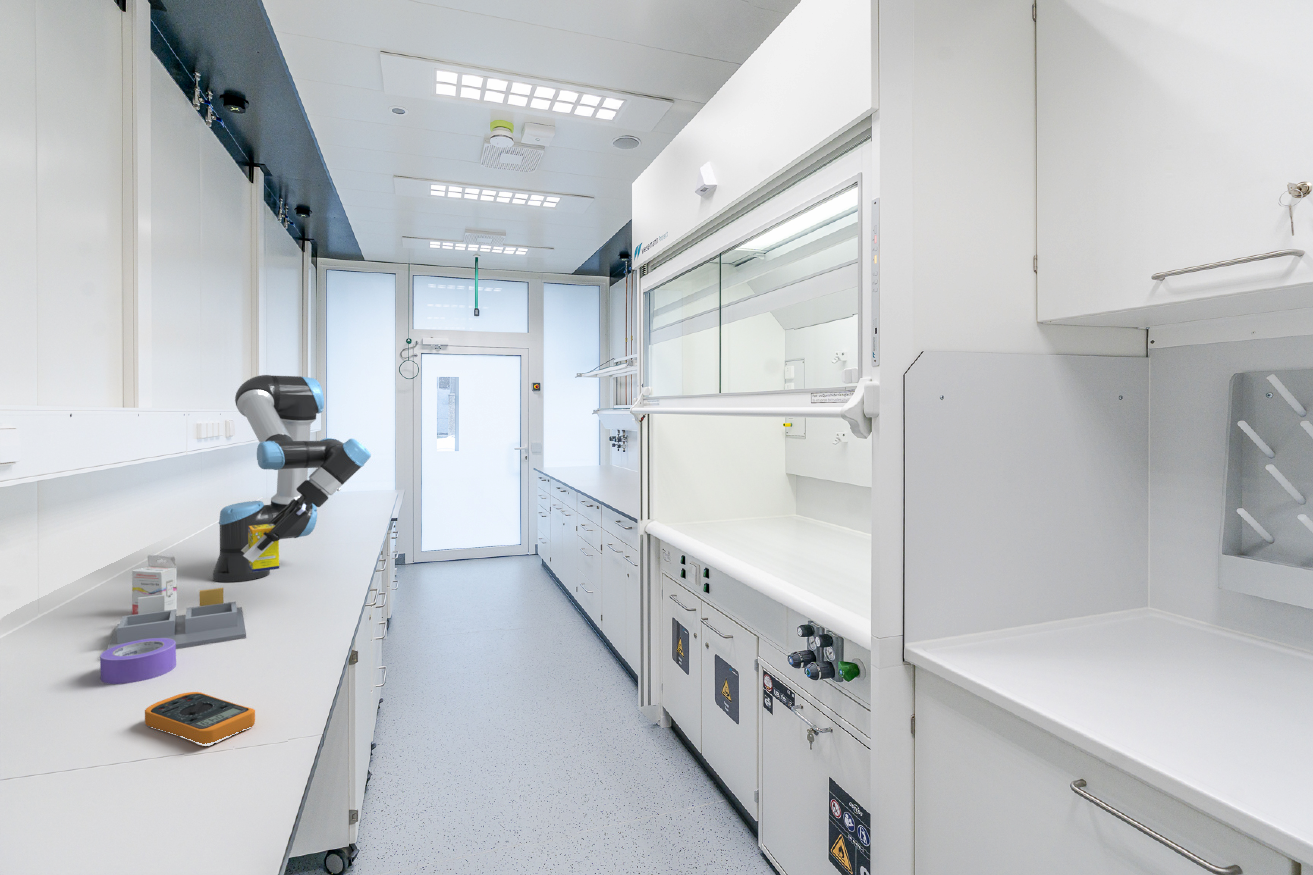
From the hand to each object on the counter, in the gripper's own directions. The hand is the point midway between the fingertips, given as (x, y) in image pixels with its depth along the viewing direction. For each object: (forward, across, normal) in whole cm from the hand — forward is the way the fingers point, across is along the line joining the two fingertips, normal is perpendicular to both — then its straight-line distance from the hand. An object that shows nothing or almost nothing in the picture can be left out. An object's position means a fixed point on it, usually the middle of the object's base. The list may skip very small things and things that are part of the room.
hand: (246, 556), depth 159 cm
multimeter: (+19, -59, -4) cm, 62 cm away
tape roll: (+26, -26, +2) cm, 36 cm away
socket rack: (+21, -3, -2) cm, 21 cm away
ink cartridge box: (+25, +18, +2) cm, 31 cm away
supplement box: (0, 0, -5) cm, 5 cm away
